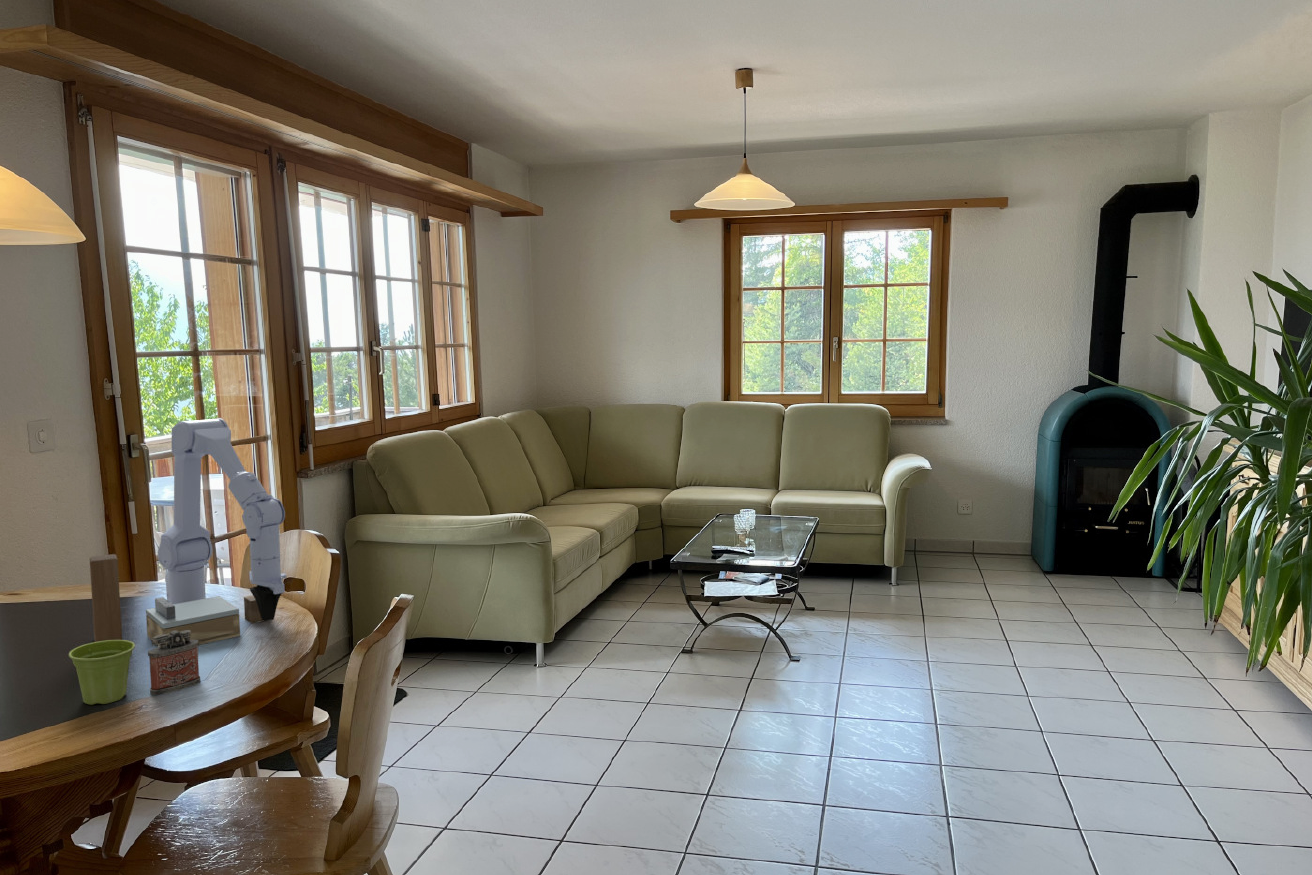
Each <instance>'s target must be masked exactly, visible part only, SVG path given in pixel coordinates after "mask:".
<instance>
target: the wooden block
mask: <svg viewBox="0 0 1312 875" xmlns="http://www.w3.org/2000/svg"><path fill="white" fill-rule="evenodd" d="M118 562H119V561H118V556H117V554H115V553H112V554H104V555H103V554H102V555H95V556H90V557H89V572H90V587H91V602H92V623H93V636H94V642H99V641H106V640H123V629H122V611H121V610H122V609H121V596H120V595H121V593H120V581H119V579H120V578H119V566H118V564H119V563H118Z"/></svg>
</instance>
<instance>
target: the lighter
mask: <svg viewBox="0 0 1312 875" xmlns="http://www.w3.org/2000/svg"><path fill="white" fill-rule="evenodd" d="M190 637H191V631H190V630H185V631H181V632H178V631H176V630H174V631H171V632H170V634H168V635H167V634H164V635H160V636H155V637H153V638H152V640H151V644H152V646H156V647H154V648H152V649H149V650H148V651H147V657H149V658H148V659H149V673H150V675H149V676H150V687H149V694H150V695H152V696H161V695H166V694H170V693H173V692H177V691H181V690H185V689H188V688H190V687H193V686H197V685H198V684H200V683H201V676H200V675H199V674H200V671H199V650H198V647H199V644H198V640H190ZM183 638H184V640H185V641H183ZM167 642H168V643H167ZM165 643H167V645H166V644H165ZM159 644H160V647H158V646H157V645H159Z"/></svg>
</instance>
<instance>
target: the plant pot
mask: <svg viewBox="0 0 1312 875" xmlns="http://www.w3.org/2000/svg"><path fill="white" fill-rule="evenodd" d="M135 648H136V644H135V643H134V642H133V641H131V640H127V639H122V640H106V641H99V642H95V641H94V642H93V641H92V642H90V643H86V644H82V645H80V646H77V647H75V648H72V649H71V650H70V651H69V653H68V658H70V659H71V660H72V664H73V665H74V667H75V670H76V674H77V678H78V683H79V687H80V692H81V696H82V701H83V703H84V704H87V705H91V706H93V705H95V704H101V705H106V704H107V705H108V704H110V703H114V702H117V701H119V700H122V699H123V697H124V696H126V695H127V688H128V678H129V670H130V669H129V668H130V661H131V657H132V655H133V654H132V653H133V650H134V649H135Z"/></svg>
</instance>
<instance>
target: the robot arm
mask: <svg viewBox="0 0 1312 875" xmlns="http://www.w3.org/2000/svg"><path fill="white" fill-rule="evenodd" d="M231 441H232V430H231V429H230V427H229V425H228V423H227V421H226V420H224V419H223V418H222V417H215V418H212V419H210V418H208V419H200V420H199V419H197V420H188V421H187V420H181V421H178V422H177V423H176V424H175V425H174V426H172V428H171V454H172V455H173V458H174V460H173V461H174V462H173V467H174V468H173V525H171V526H170V527H169V528H168V529H167V530H165V531H164V532H163V533H162V534H161V536H160V543H159V547H158V549H157V557H158V558H157V559H158V562H159V563H160V565H161V566H162V567H163V568H164V570H167V572H166V573H165V588H166V591H165V592H166V600H168V601H169V602H170V603H172V604H179V603H184V602H190V601H195V600H200V599H206V598H207V596H206V578H205V577H206V574H205V566H206V565H208V561H209V560H210V559H211V558H212V555H213V551H214V550H213V544H212V541H211V532H210V531H209V530H208V529H207V528H205V527H203V526H202V525H201V494H202V493H201V492H202V491H201V486H202V484H201V483H202V482H201V481H202V479H201V478H202V475H201V474H202V458H203V457H204V456H206V455H208V456H211V457H212V459H213V460H214V461H215V463H216V464H217V465H218V467H219V468H220V469H221V470H222V471H223V473H225V475H226V476H227V477H228V479H229V482H228V487H227V488H228V489H229V491H230V493H232V495H233V497H234V499H235V500H236V501H237V503H238V504H239V506H240V507H241V509H242V510H243V514H242V515H241V518H242V522H243V525H244V526H245V529H246V535H247V538H249V551H250V553H249V554H250V558H249V559H250V570H249V571H248V579H249V581H250V582H249V583H250V584H252V585H256V586H253V587H250V588H249V591H250V592H251V594H252V595H253V596H254V598H255V600H256V602H257V605H258V609H259V612H260V616H261V619H262V620H263V621H262V622H267V621H271V620H272V621H273V620H275V616H276V611H277V608H278V607H277V606H278V603H279V600H280V598H281V596H282V595H283V594H285V593H286V592H285V583H284V582H283V579H287V574H286V573H284V572H283V573H282V569H281V568H282V565H281V546H280V545H281V543H280V541H281V540H280V525H281V524H282V523H283V522H284V520H285V518H286V511H285V507H284V505H283V503H282V501H281V500H280V499H278V498H276V497H274V496H273V495H272V494H269V493H268V492H267V490H266V489H265V488H264V486H263V485H262V483H261V481H260V480H259V479H258V477H257V476H256V474H255V473H254V472H252V471H246V469H245V467H244V465H243V463H242V462H241V459H240V458H239V456H238V454H237V452H236V450H235V449H234V447H233V445H232V443H231Z"/></svg>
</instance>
